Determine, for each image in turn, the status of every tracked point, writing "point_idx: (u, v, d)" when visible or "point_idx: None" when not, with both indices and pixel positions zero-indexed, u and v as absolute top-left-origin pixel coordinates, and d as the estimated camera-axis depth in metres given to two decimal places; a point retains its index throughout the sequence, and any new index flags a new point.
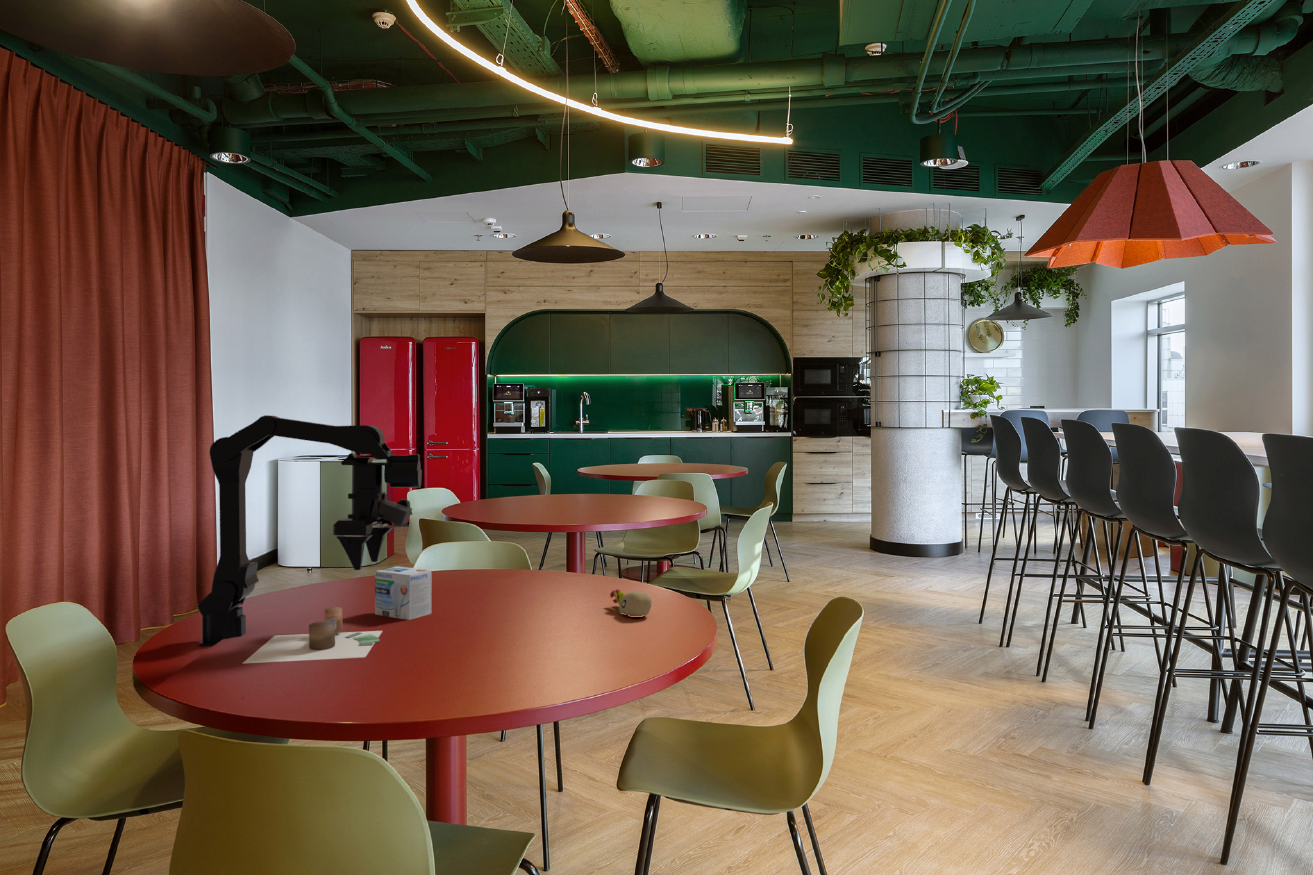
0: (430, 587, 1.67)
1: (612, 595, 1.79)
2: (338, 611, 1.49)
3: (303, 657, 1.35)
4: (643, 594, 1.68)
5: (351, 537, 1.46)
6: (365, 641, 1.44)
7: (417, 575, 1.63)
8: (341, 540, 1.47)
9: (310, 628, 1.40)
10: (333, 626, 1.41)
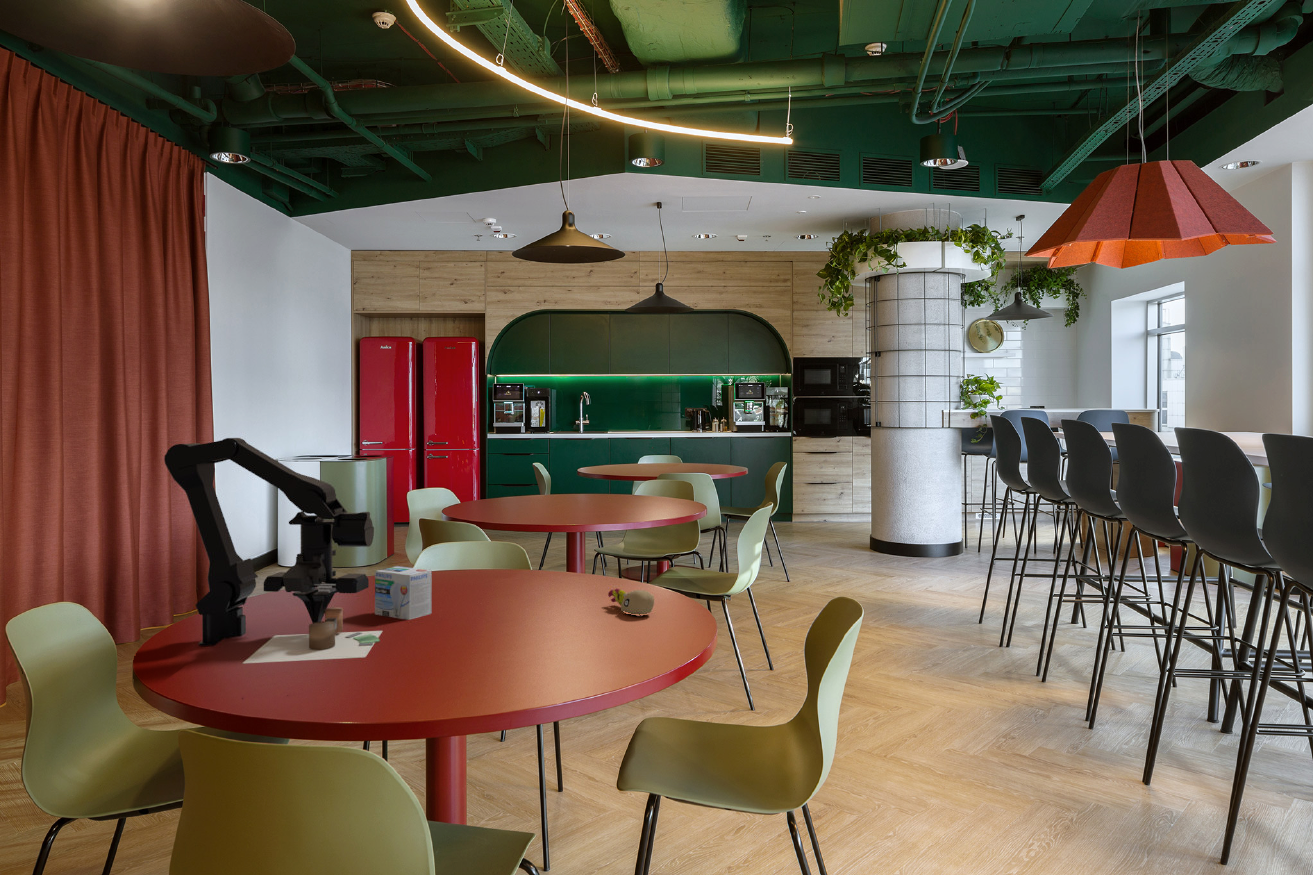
0: (430, 587, 1.67)
1: (610, 594, 1.79)
2: (338, 611, 1.49)
3: (303, 657, 1.35)
4: (646, 593, 1.70)
5: None
6: (365, 641, 1.44)
7: (417, 575, 1.63)
8: None
9: (310, 628, 1.40)
10: (333, 626, 1.41)
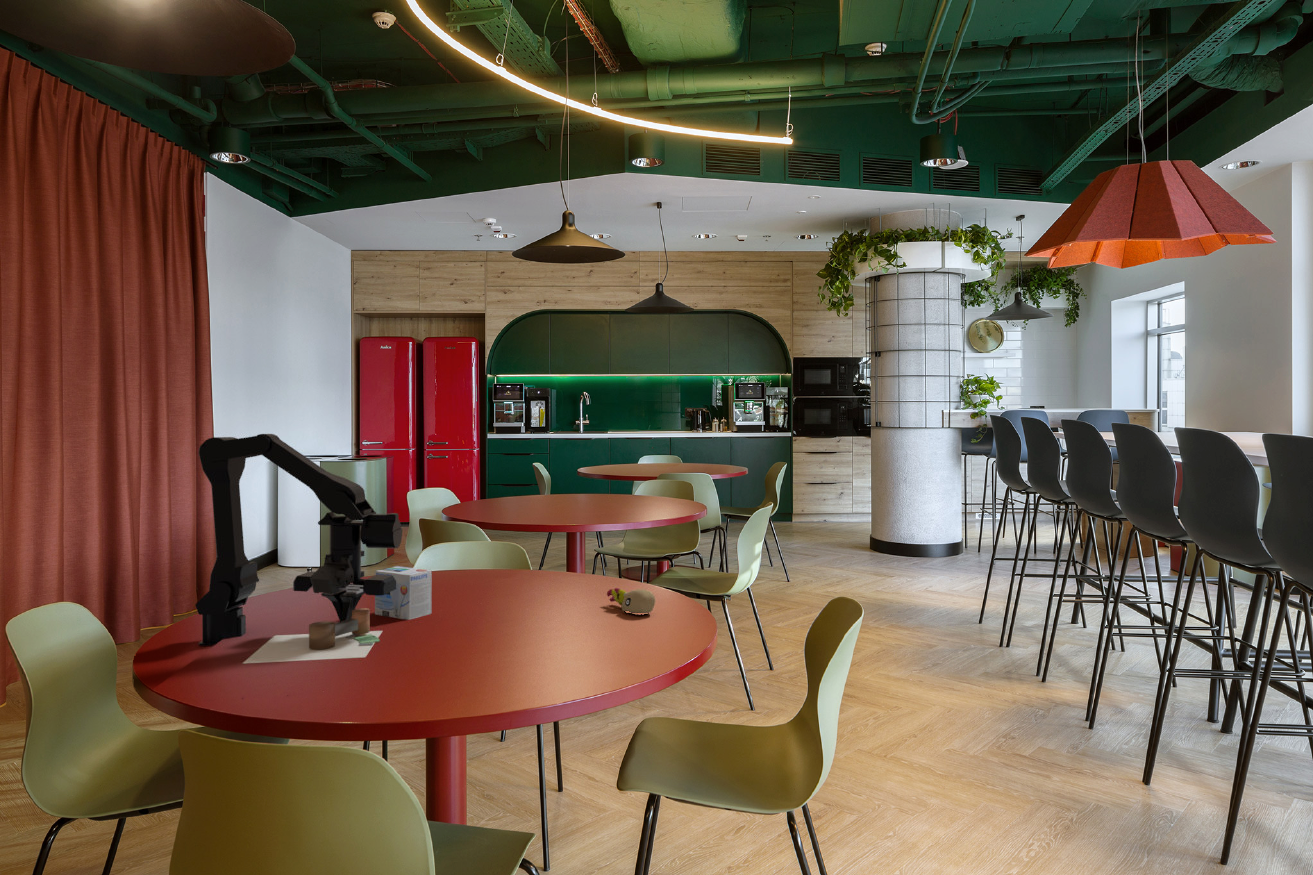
0: (430, 587, 1.67)
1: (609, 594, 1.80)
2: (360, 613, 1.48)
3: (303, 657, 1.35)
4: (647, 592, 1.71)
5: None
6: (365, 641, 1.44)
7: (417, 575, 1.63)
8: None
9: (309, 626, 1.41)
10: (327, 628, 1.40)
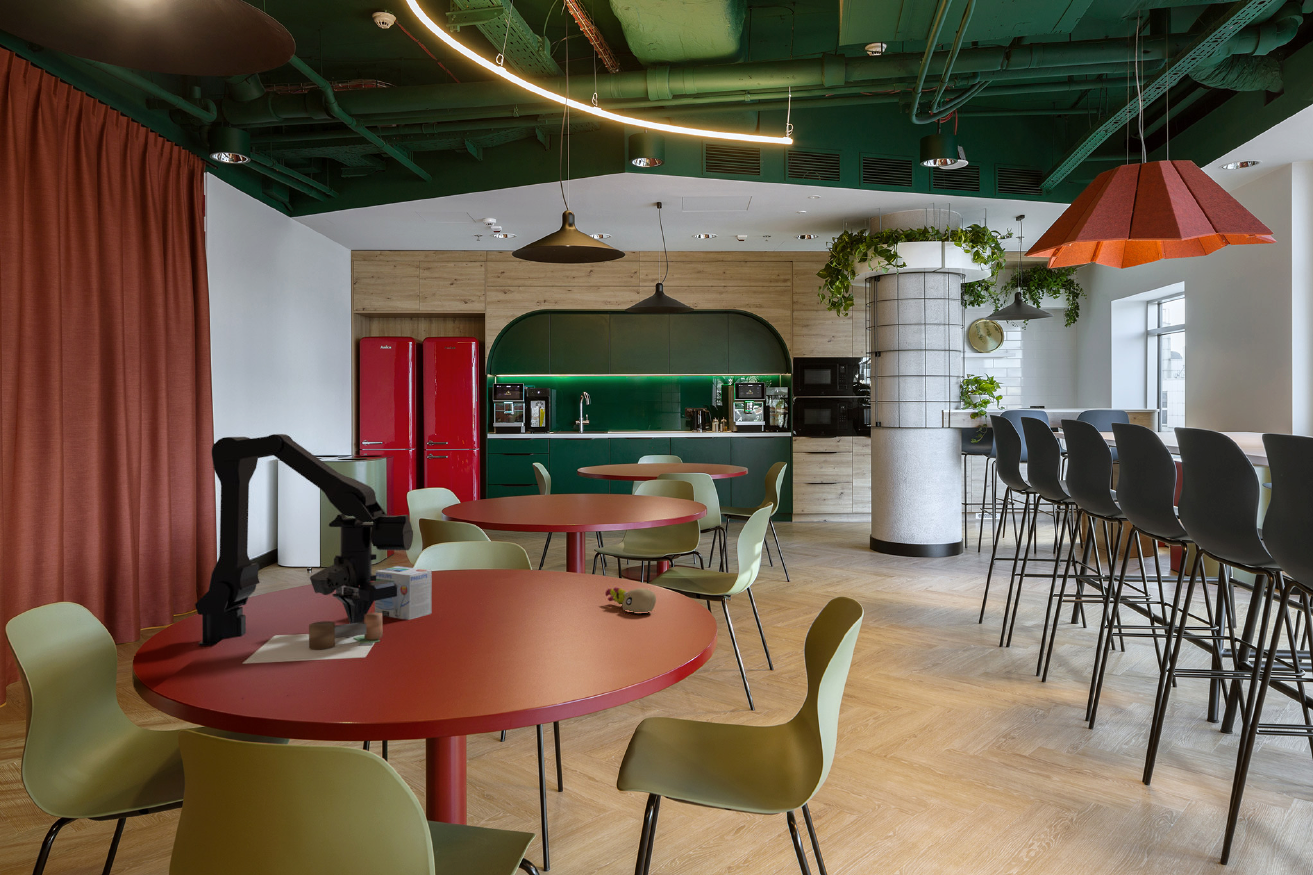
0: (430, 587, 1.67)
1: (607, 593, 1.80)
2: (368, 617, 1.44)
3: (303, 657, 1.35)
4: (648, 591, 1.72)
5: None
6: (365, 641, 1.44)
7: (417, 575, 1.63)
8: None
9: None
10: (320, 629, 1.39)
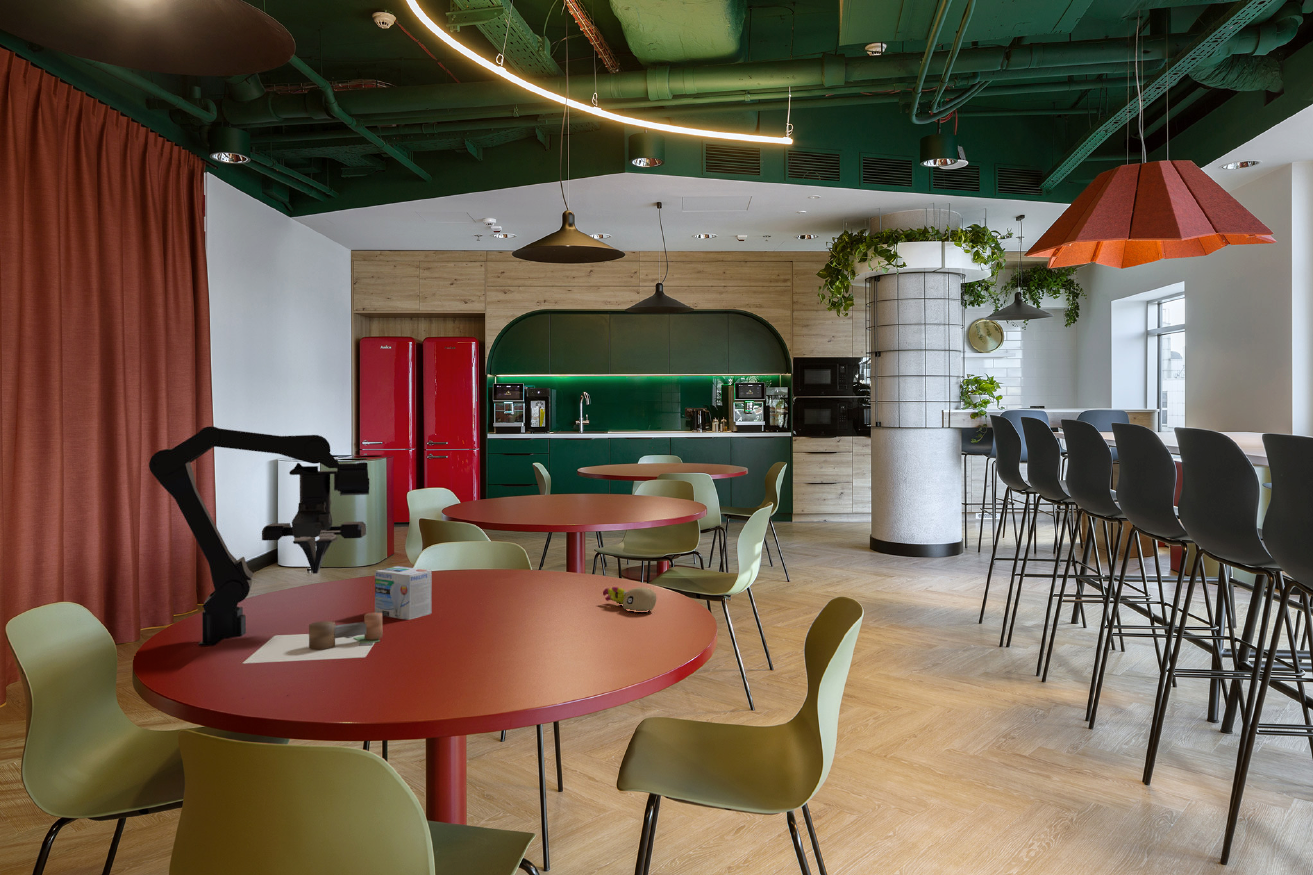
0: (430, 587, 1.67)
1: (605, 593, 1.81)
2: (368, 617, 1.44)
3: (303, 657, 1.35)
4: (649, 589, 1.73)
5: None
6: (365, 641, 1.44)
7: (417, 575, 1.63)
8: None
9: None
10: (320, 629, 1.39)
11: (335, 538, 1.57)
